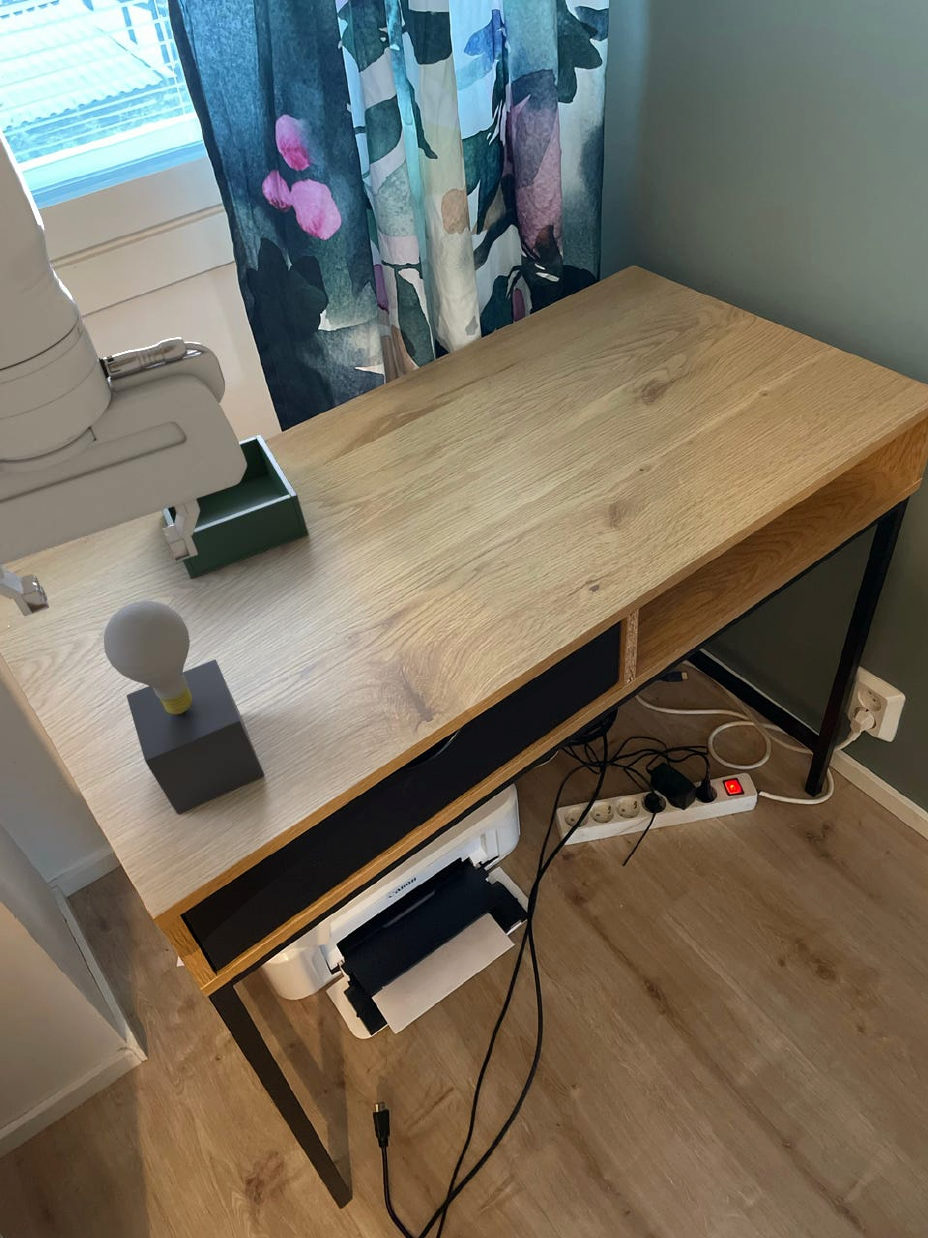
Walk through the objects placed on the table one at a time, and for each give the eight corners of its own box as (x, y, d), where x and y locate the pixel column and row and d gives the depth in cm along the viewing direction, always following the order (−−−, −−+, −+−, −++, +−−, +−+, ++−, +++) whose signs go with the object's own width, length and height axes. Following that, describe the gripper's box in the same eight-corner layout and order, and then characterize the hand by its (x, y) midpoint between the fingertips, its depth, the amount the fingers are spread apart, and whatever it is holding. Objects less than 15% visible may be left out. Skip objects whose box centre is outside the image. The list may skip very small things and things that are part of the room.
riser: (177, 815, 68) (144, 761, 63) (157, 749, 72) (125, 694, 67) (265, 776, 70) (240, 721, 65) (240, 714, 74) (215, 658, 69)
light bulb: (228, 681, 67) (186, 585, 60) (202, 740, 64) (154, 645, 56) (161, 677, 68) (112, 582, 61) (132, 735, 65) (76, 640, 57)
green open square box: (190, 579, 87) (173, 540, 83) (163, 511, 95) (146, 473, 91) (308, 534, 90) (297, 494, 86) (272, 472, 98) (260, 434, 94)
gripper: (194, 306, 51) (255, 498, 61) (-190, 416, 46) (-57, 607, 56) (223, 352, 47) (283, 550, 57) (-196, 478, 42) (-51, 672, 52)
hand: (112, 579), depth 57 cm, fingers open, 8 cm apart
